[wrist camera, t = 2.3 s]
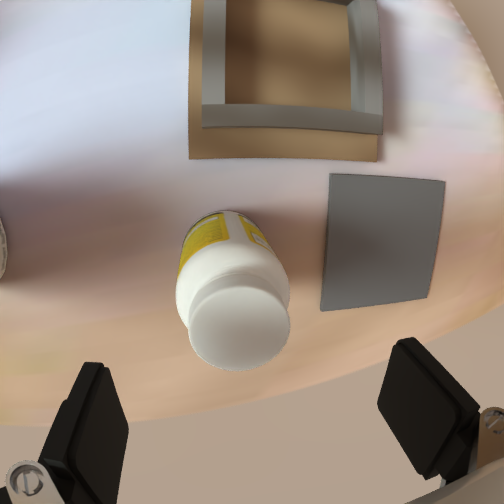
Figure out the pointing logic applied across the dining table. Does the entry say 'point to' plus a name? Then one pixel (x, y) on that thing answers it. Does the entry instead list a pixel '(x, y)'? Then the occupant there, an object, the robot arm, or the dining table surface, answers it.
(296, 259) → the dining table surface
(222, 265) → the supplement bottle
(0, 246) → the supplement can
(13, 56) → the dining table surface
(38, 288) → the dining table surface
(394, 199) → the mat
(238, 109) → the block
